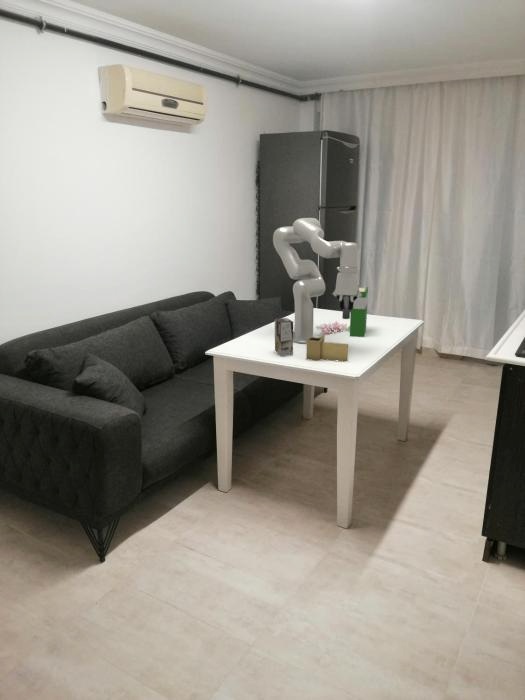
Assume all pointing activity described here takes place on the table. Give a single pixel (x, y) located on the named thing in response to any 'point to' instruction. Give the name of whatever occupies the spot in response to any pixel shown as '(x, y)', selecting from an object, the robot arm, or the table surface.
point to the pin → (346, 307)
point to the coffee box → (284, 336)
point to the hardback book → (359, 315)
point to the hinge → (326, 349)
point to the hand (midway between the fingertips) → (346, 309)
